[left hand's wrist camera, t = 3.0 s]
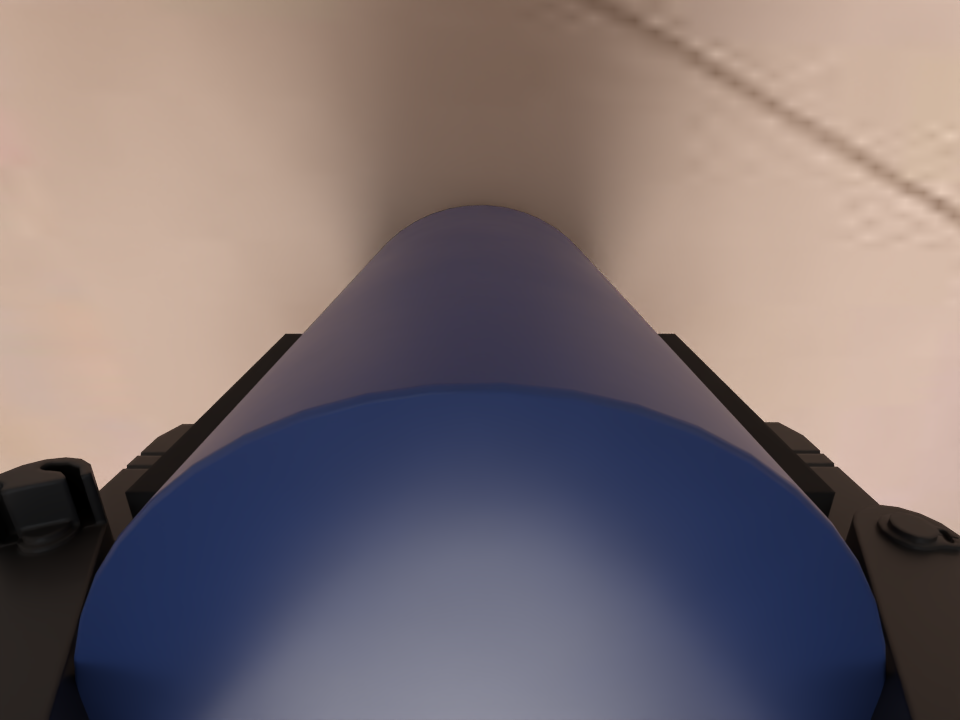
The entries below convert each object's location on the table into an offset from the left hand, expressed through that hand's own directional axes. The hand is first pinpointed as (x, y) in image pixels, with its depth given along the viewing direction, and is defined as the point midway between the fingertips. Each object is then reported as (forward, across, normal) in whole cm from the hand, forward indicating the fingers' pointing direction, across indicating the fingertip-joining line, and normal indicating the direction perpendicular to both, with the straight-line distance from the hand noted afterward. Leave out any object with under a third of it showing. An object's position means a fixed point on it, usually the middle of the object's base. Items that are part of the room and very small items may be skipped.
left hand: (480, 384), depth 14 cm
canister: (+4, 0, 0) cm, 4 cm away
